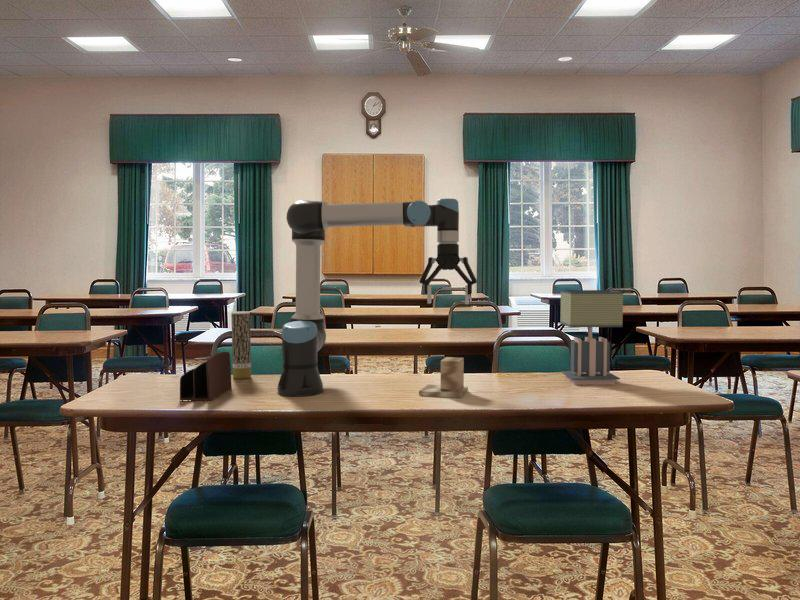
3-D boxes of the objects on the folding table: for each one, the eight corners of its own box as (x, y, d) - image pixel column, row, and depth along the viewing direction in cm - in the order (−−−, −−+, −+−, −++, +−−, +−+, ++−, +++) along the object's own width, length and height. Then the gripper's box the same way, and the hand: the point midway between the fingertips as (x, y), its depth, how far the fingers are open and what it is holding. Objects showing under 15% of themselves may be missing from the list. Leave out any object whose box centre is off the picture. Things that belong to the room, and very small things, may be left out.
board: (418, 395, 203) (418, 390, 203) (427, 388, 214) (427, 384, 214) (461, 398, 199) (461, 393, 199) (467, 391, 209) (467, 386, 209)
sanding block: (440, 391, 202) (440, 360, 202) (446, 386, 210) (446, 357, 209) (458, 392, 201) (458, 361, 200) (463, 387, 208) (463, 357, 208)
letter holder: (232, 389, 216) (231, 349, 215) (209, 402, 196) (208, 358, 195) (204, 389, 217) (203, 348, 216) (179, 401, 197) (178, 357, 196)
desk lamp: (608, 377, 232) (609, 290, 230) (622, 385, 218) (623, 292, 216) (559, 377, 232) (560, 290, 230) (569, 385, 218) (570, 292, 216)
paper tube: (231, 377, 237) (229, 311, 236) (248, 375, 241) (247, 311, 239) (235, 380, 231) (233, 313, 230) (253, 378, 235) (251, 312, 233)
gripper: (485, 243, 218) (485, 303, 219) (416, 244, 225) (416, 302, 227) (481, 242, 211) (481, 305, 212) (410, 243, 218) (411, 303, 220)
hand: (448, 303), depth 219 cm, fingers open, 13 cm apart
